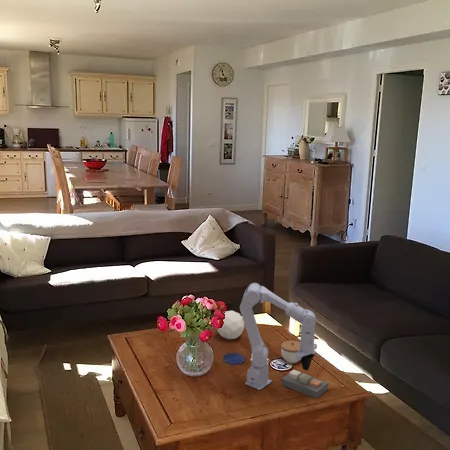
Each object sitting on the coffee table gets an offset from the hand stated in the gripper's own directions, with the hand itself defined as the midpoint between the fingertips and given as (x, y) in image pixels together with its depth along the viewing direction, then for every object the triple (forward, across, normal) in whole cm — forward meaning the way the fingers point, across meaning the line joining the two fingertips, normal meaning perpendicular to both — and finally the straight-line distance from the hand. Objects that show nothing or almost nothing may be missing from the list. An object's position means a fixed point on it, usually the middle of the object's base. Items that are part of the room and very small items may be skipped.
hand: (305, 369), depth 217 cm
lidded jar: (+8, +18, +17) cm, 26 cm away
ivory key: (+6, 0, +5) cm, 8 cm away
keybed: (+8, 0, 0) cm, 8 cm away
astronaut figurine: (+9, +8, +29) cm, 32 cm away
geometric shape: (+8, +18, +55) cm, 59 cm away
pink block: (+7, 0, -5) cm, 8 cm away
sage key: (+6, 0, 0) cm, 6 cm away
